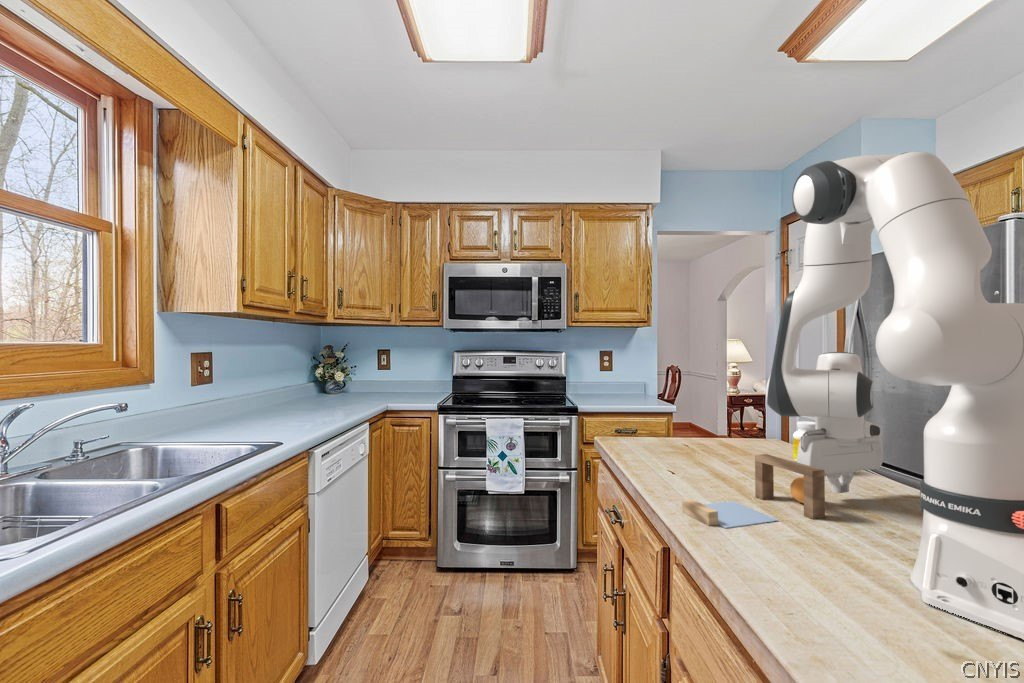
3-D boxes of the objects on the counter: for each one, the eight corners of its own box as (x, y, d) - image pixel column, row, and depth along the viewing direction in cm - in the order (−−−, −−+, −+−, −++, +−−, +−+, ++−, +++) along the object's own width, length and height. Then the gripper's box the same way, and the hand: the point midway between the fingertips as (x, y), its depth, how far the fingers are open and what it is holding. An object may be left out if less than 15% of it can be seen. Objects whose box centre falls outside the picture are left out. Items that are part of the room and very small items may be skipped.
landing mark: (778, 521, 94) (778, 520, 94) (725, 528, 91) (725, 527, 91) (733, 501, 106) (733, 501, 106) (684, 507, 102) (684, 506, 102)
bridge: (766, 495, 110) (766, 453, 110) (825, 517, 96) (824, 469, 96) (755, 497, 109) (755, 455, 109) (812, 519, 95) (812, 471, 95)
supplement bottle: (796, 474, 127) (795, 424, 127) (790, 468, 134) (790, 420, 134) (826, 476, 125) (825, 425, 125) (819, 469, 131) (818, 421, 132)
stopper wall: (718, 524, 93) (717, 511, 93) (708, 525, 92) (708, 512, 92) (690, 510, 100) (690, 498, 100) (682, 512, 100) (682, 499, 100)
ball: (800, 487, 101) (807, 511, 102) (823, 477, 102) (830, 501, 102) (781, 479, 106) (788, 502, 107) (802, 469, 107) (809, 493, 108)
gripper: (814, 433, 101) (815, 501, 101) (888, 427, 106) (889, 491, 106) (788, 428, 107) (789, 492, 107) (860, 422, 112) (861, 484, 112)
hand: (840, 492), depth 107 cm, fingers closed
